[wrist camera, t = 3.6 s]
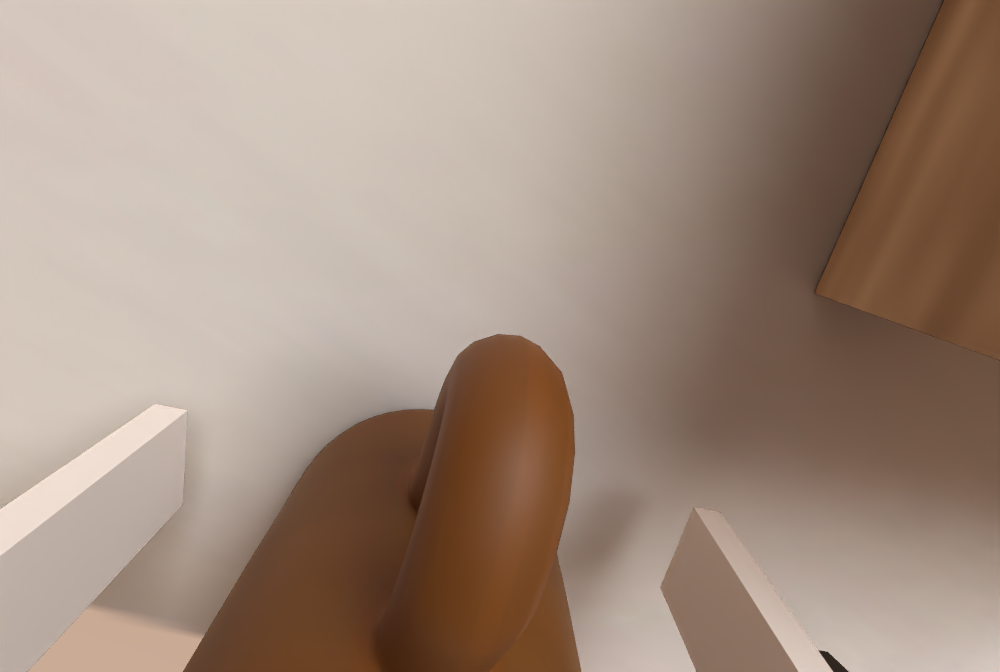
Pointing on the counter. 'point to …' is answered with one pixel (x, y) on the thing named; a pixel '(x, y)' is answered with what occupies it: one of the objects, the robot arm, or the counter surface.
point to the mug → (421, 538)
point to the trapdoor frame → (934, 194)
